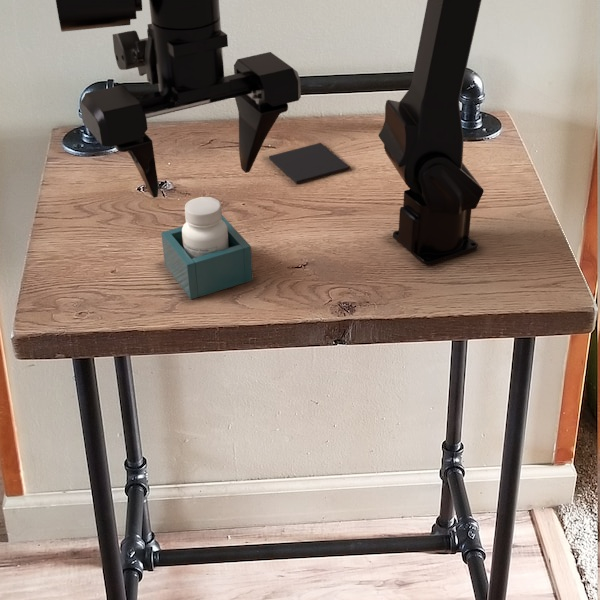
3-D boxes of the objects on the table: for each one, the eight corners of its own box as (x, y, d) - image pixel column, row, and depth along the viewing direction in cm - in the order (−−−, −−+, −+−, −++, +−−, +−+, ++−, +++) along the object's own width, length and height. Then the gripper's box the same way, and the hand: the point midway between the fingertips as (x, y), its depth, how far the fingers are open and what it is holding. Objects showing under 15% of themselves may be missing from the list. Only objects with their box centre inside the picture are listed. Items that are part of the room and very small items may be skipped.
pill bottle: (204, 256, 100) (199, 189, 95) (239, 269, 98) (235, 201, 93) (176, 276, 97) (169, 209, 92) (211, 290, 95) (206, 222, 90)
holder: (224, 248, 101) (222, 214, 98) (252, 280, 96) (251, 246, 94) (164, 266, 98) (160, 232, 96) (190, 299, 94) (187, 265, 91)
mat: (320, 145, 119) (320, 142, 119) (349, 169, 114) (349, 166, 114) (268, 159, 116) (268, 156, 116) (296, 184, 111) (296, 181, 111)
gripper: (244, -28, 91) (252, 126, 100) (47, 9, 84) (75, 171, 93) (302, 8, 83) (305, 172, 92) (89, 52, 76) (116, 224, 85)
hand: (200, 182), depth 91 cm, fingers open, 9 cm apart
